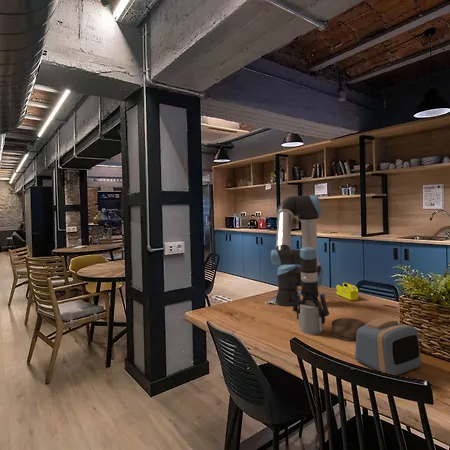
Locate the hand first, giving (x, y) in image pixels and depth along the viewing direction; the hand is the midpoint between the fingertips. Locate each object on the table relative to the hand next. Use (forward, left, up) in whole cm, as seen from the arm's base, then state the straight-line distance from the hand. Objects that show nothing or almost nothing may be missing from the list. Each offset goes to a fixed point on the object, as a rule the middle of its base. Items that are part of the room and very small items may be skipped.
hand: (311, 328), depth 154 cm
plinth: (+16, +4, -1) cm, 17 cm away
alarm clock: (+36, -17, -1) cm, 40 cm away
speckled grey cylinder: (0, 0, -1) cm, 1 cm away
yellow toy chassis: (-3, +63, -1) cm, 64 cm away
